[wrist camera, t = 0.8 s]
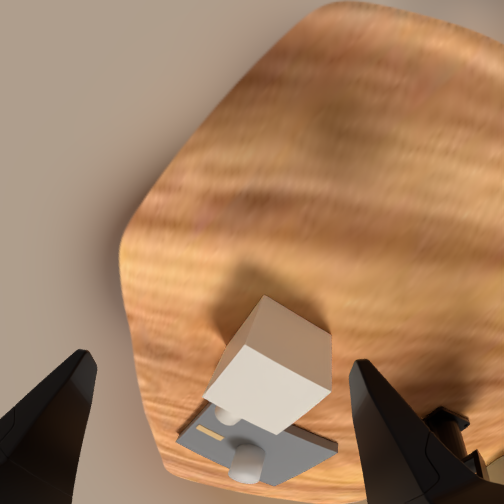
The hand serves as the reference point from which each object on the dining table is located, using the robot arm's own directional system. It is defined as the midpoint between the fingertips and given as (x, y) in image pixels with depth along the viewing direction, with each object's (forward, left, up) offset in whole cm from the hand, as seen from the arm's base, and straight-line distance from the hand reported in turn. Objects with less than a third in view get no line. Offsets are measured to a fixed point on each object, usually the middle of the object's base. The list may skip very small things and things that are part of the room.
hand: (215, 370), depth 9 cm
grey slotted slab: (-10, +20, -12) cm, 26 cm away
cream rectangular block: (-4, +8, -12) cm, 15 cm away
